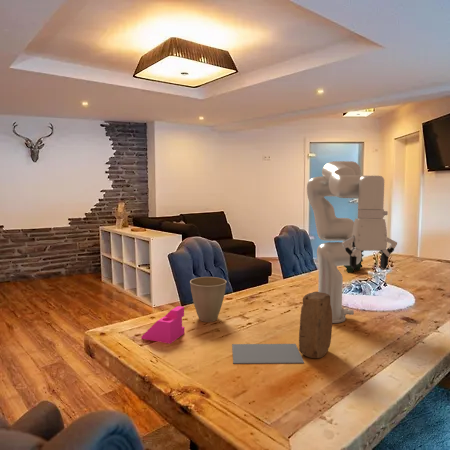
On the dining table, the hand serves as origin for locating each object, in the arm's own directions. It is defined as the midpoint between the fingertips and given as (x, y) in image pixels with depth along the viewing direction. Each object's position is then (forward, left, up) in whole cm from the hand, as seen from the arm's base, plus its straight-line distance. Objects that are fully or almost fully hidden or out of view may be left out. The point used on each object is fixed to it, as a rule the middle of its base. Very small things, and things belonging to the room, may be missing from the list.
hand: (368, 267), depth 125 cm
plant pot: (+53, -33, -29) cm, 68 cm away
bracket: (+69, -15, -29) cm, 76 cm away
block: (+17, 0, -29) cm, 33 cm away
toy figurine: (-37, -120, -29) cm, 128 cm away
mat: (+33, 0, -29) cm, 43 cm away
